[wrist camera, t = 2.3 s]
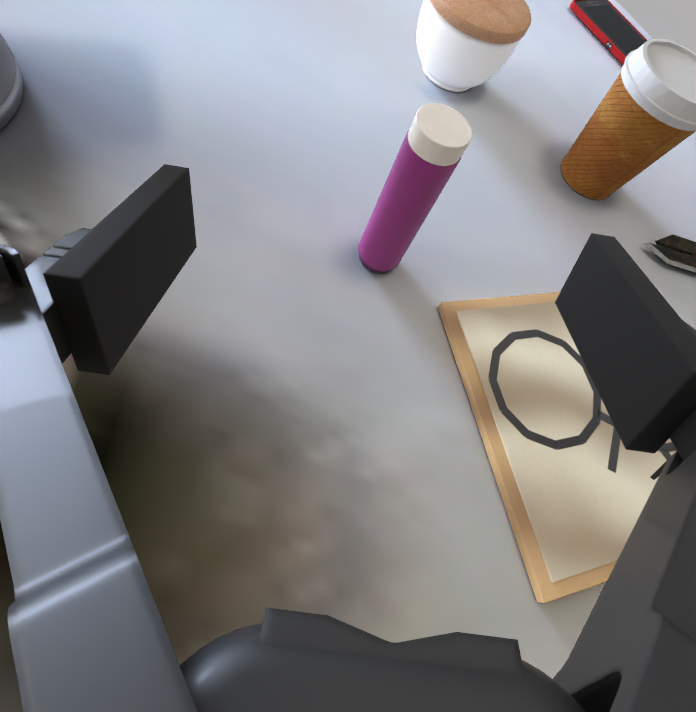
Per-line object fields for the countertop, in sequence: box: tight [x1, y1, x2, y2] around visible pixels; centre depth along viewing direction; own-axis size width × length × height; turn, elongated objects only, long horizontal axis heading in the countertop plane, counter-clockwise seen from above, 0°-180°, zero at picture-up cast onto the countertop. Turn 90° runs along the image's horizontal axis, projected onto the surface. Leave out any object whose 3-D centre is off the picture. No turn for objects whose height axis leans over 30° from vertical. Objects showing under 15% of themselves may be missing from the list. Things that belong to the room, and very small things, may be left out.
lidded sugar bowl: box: [417, 0, 531, 92], centre depth 46 cm, size 11×11×9 cm
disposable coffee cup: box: [561, 38, 696, 200], centre depth 44 cm, size 10×10×12 cm
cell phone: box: [570, 0, 647, 65], centre depth 63 cm, size 8×15×1 cm, turn 31°
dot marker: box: [359, 103, 472, 273], centre depth 32 cm, size 4×4×13 cm
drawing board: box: [438, 292, 677, 603], centre depth 36 cm, size 22×20×1 cm
